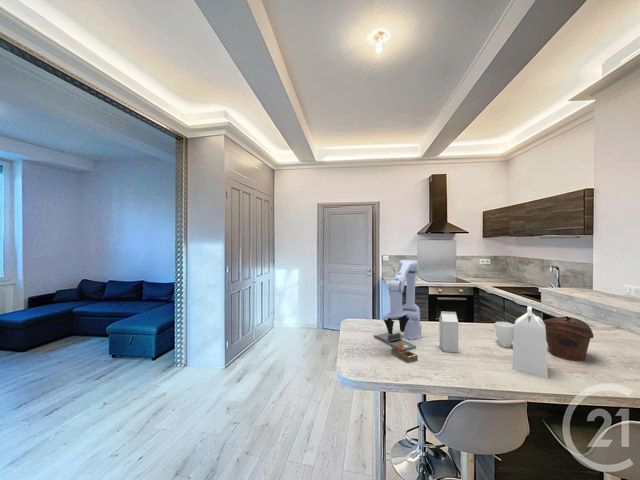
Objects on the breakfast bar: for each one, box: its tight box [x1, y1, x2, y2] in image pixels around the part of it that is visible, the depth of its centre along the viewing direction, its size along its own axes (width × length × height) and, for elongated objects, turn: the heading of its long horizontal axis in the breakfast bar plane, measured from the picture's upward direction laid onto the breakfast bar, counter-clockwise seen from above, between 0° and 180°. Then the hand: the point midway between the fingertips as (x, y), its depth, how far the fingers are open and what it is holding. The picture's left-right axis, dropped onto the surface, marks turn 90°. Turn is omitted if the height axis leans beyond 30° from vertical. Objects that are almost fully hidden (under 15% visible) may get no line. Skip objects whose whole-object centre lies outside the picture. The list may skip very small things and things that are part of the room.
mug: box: [492, 321, 515, 348], centre depth 141 cm, size 12×8×11 cm
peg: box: [396, 340, 404, 352], centre depth 129 cm, size 3×3×6 cm
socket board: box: [390, 347, 419, 364], centre depth 126 cm, size 6×11×2 cm, turn 26°
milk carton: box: [438, 311, 459, 354], centre depth 135 cm, size 7×7×19 cm
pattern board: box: [373, 334, 417, 351], centre depth 144 cm, size 10×22×1 cm, turn 26°
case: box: [542, 316, 595, 362], centre depth 128 cm, size 18×20×18 cm
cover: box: [376, 332, 403, 343], centre depth 148 cm, size 10×9×3 cm
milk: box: [511, 305, 549, 379], centre depth 115 cm, size 12×12×26 cm
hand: (396, 332), depth 131 cm, fingers open, 7 cm apart
